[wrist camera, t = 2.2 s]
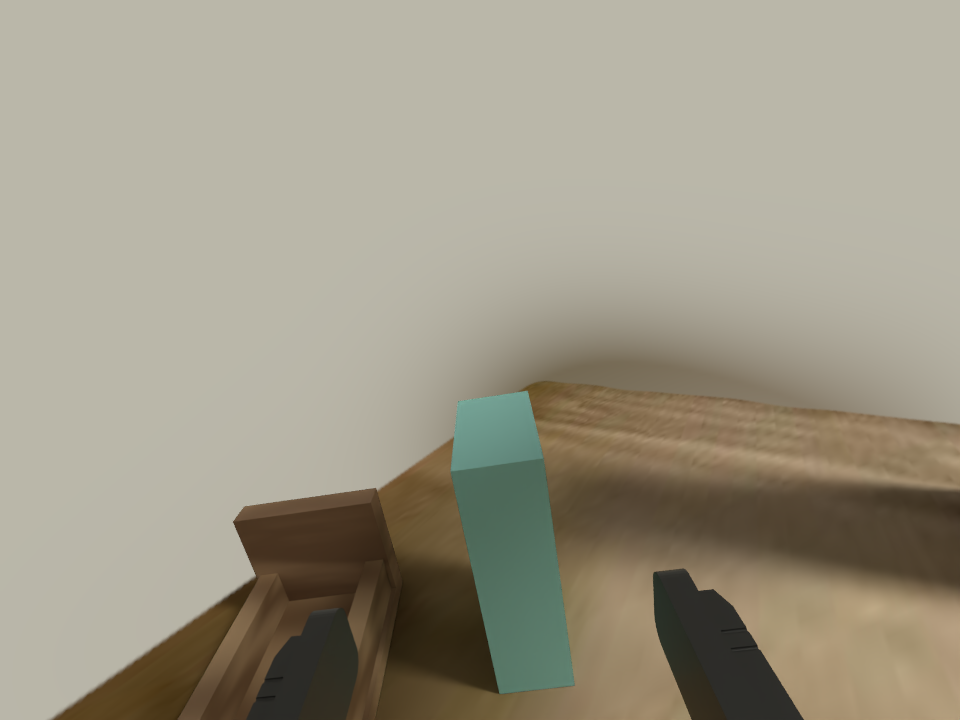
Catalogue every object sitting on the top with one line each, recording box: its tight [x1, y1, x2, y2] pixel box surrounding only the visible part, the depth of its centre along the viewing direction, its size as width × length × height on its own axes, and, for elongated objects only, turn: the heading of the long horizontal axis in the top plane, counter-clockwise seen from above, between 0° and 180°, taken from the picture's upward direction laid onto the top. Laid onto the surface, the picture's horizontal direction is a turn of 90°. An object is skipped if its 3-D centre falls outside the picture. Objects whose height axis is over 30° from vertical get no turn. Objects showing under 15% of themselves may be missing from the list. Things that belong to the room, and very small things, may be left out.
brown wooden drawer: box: [178, 488, 403, 720], centre depth 23 cm, size 18×9×8 cm, turn 0°
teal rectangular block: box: [451, 391, 575, 694], centre depth 25 cm, size 7×4×14 cm, turn 0°
